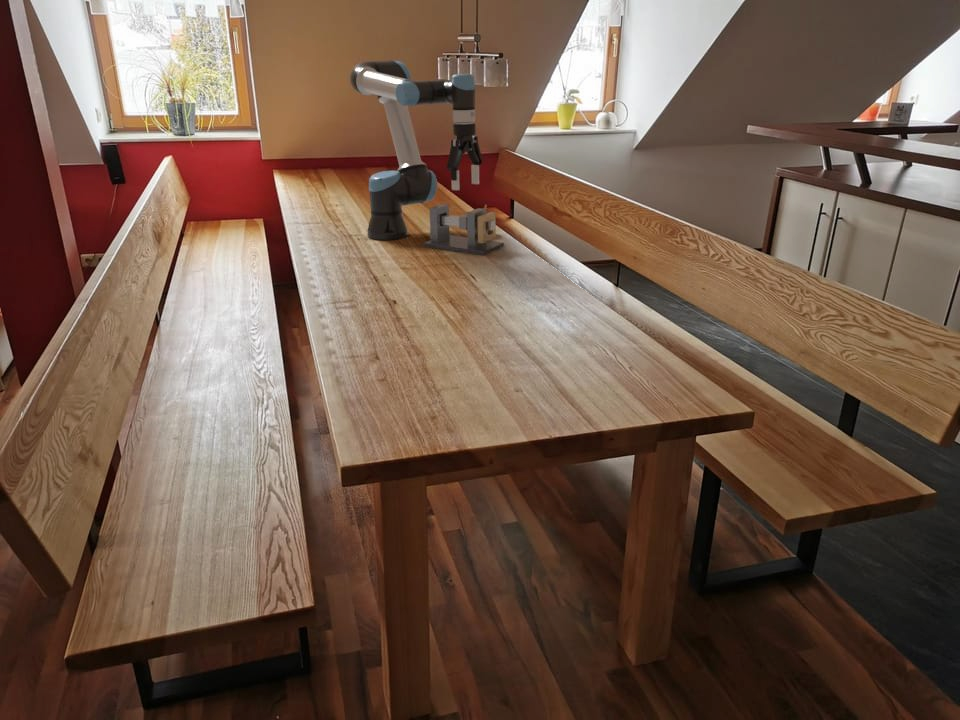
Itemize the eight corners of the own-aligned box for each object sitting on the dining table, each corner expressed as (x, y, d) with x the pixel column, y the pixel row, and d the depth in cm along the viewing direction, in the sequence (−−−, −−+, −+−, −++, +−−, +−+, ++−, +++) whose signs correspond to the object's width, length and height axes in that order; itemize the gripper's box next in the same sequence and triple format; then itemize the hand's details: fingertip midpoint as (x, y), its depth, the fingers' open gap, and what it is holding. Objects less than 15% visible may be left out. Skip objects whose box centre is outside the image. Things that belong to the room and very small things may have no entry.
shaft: (431, 225, 271) (431, 213, 269) (438, 223, 274) (438, 211, 272) (489, 233, 259) (489, 220, 258) (496, 230, 263) (496, 217, 261)
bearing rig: (423, 246, 270) (422, 209, 264) (444, 238, 281) (443, 202, 276) (484, 255, 258) (484, 216, 253) (503, 246, 269) (503, 208, 264)
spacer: (477, 242, 261) (477, 216, 257) (490, 237, 268) (490, 211, 264) (482, 243, 260) (482, 217, 256) (495, 237, 267) (495, 212, 263)
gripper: (454, 126, 241) (456, 193, 249) (491, 120, 261) (492, 182, 269) (434, 125, 245) (437, 191, 253) (473, 119, 265) (474, 180, 273)
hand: (465, 187), depth 261 cm, fingers open, 13 cm apart
